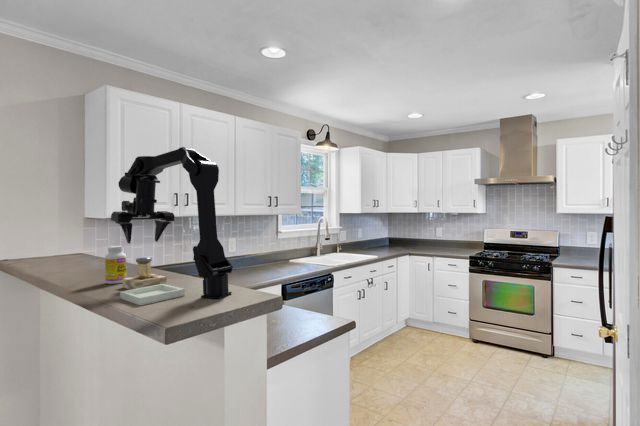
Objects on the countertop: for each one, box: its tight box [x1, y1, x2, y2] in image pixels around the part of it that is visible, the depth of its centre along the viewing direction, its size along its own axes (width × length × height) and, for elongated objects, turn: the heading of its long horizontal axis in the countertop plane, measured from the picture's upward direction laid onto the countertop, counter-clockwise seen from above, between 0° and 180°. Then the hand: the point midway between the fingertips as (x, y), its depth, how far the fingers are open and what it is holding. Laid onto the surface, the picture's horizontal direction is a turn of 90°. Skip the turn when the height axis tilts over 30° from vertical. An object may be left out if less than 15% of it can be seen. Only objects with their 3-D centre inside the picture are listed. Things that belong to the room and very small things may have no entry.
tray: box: [119, 284, 186, 306], centre depth 111 cm, size 13×13×2 cm
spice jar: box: [135, 256, 153, 280], centre depth 126 cm, size 5×5×10 cm
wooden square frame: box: [122, 273, 168, 290], centre depth 126 cm, size 10×10×3 cm
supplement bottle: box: [104, 245, 128, 285], centre depth 134 cm, size 7×7×13 cm
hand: (142, 242), depth 125 cm, fingers open, 9 cm apart
